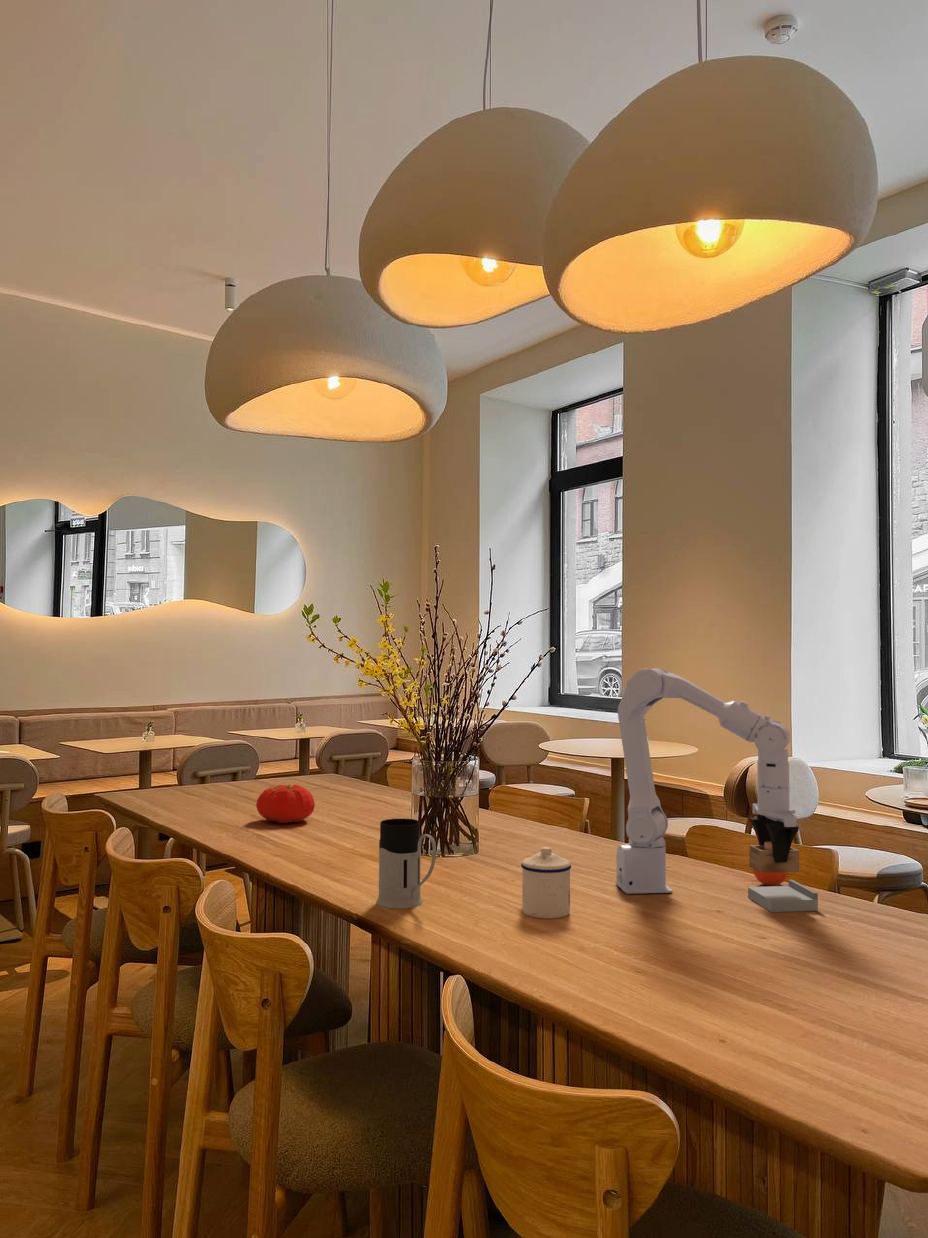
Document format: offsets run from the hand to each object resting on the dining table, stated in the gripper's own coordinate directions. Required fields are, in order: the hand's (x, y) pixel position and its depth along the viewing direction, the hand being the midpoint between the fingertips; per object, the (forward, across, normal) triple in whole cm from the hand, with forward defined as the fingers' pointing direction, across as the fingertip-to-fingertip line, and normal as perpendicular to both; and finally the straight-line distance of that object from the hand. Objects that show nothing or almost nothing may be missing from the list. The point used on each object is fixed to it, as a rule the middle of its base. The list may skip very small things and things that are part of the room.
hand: (774, 858), depth 172 cm
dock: (+8, 0, -2) cm, 9 cm away
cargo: (-1, 0, 0) cm, 1 cm away
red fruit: (+9, +13, -5) cm, 17 cm away
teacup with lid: (+9, 0, +44) cm, 45 cm away
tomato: (+8, +93, +99) cm, 136 cm away
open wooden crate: (+2, 0, 0) cm, 2 cm away
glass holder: (+8, +6, +68) cm, 69 cm away
